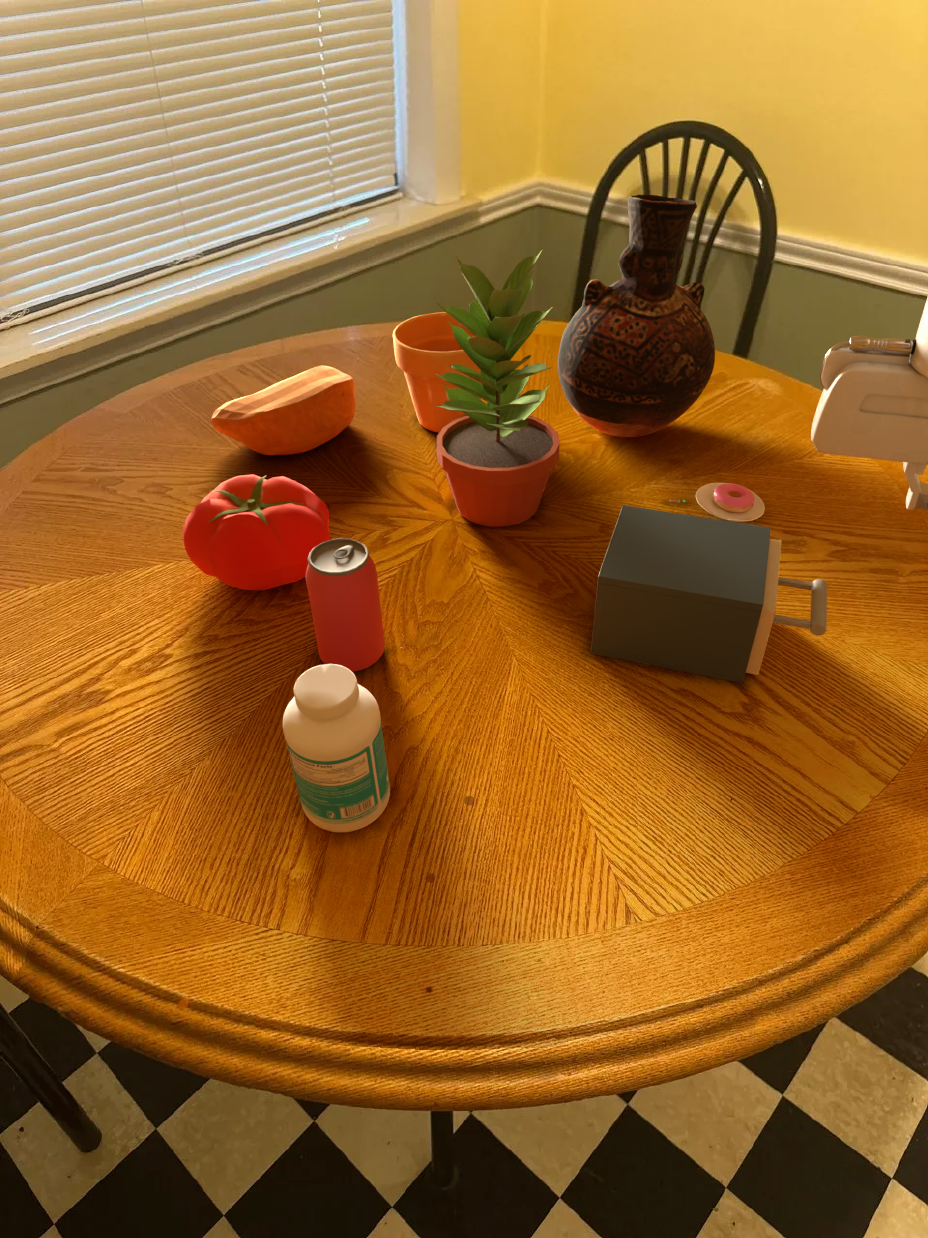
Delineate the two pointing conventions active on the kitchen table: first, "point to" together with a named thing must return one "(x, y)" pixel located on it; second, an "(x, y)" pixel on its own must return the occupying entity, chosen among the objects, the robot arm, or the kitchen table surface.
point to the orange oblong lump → (291, 413)
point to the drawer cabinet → (681, 592)
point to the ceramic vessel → (640, 331)
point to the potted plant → (496, 407)
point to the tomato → (256, 531)
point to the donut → (730, 502)
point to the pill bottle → (336, 749)
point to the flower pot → (430, 365)
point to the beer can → (345, 604)
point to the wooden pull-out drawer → (768, 616)
